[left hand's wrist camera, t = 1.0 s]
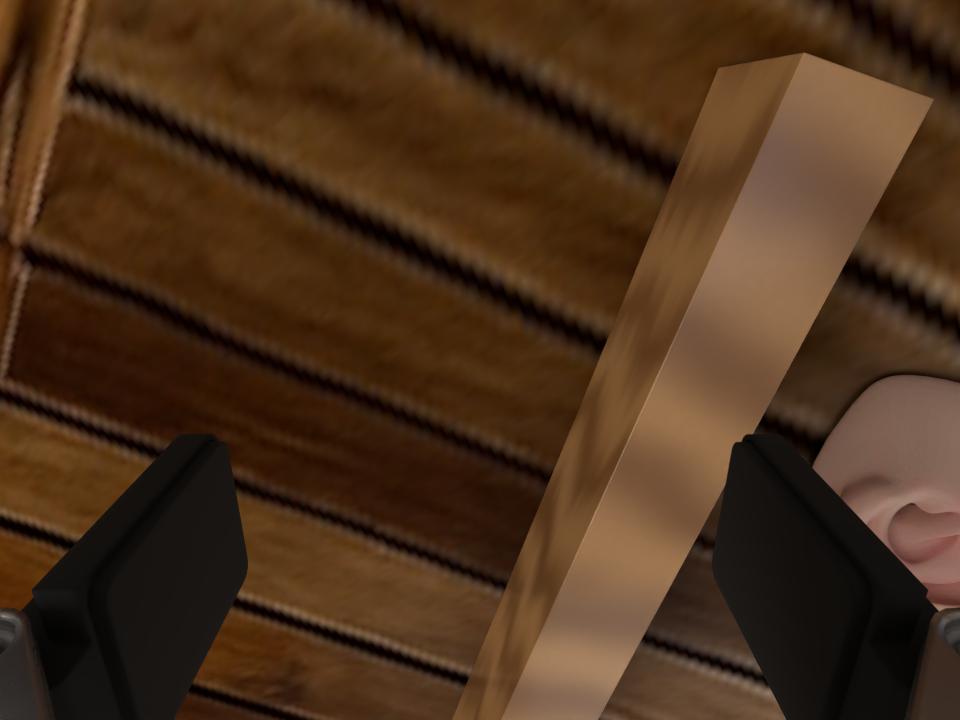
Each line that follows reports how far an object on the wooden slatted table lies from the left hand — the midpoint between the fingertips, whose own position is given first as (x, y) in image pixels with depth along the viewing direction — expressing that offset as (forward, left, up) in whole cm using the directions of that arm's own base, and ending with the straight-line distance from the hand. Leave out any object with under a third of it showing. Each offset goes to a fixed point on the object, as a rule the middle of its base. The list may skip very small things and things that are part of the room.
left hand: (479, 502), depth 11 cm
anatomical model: (-6, +26, -19) cm, 33 cm away
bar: (+19, +19, -19) cm, 33 cm away
